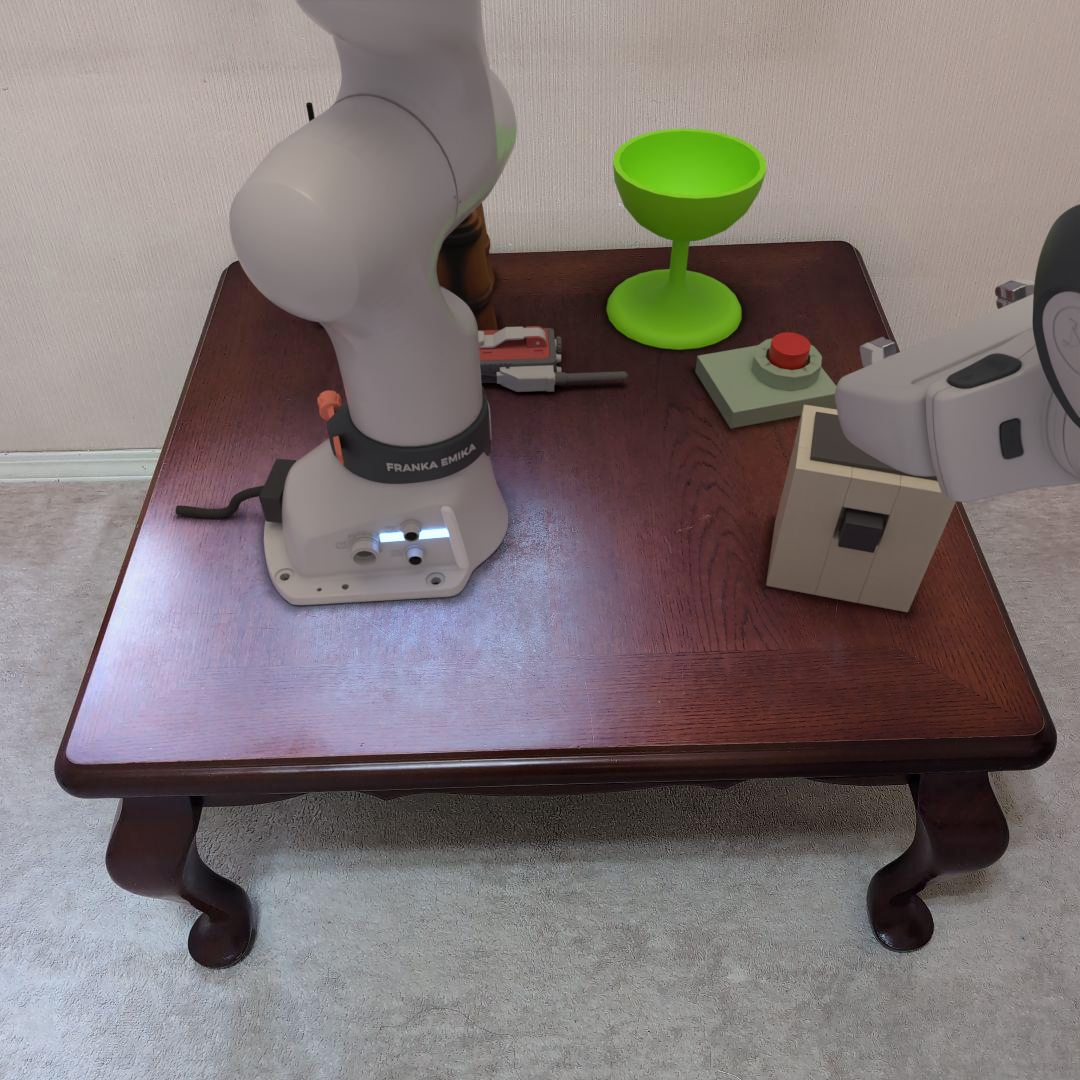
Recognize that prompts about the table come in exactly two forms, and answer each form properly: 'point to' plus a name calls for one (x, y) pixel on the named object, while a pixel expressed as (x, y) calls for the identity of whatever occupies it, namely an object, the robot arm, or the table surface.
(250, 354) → the table surface
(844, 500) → the beige box
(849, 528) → the power button
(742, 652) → the table surface
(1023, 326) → the robot arm
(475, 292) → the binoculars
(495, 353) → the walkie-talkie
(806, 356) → the mains button
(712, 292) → the wineglass
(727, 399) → the switch box
